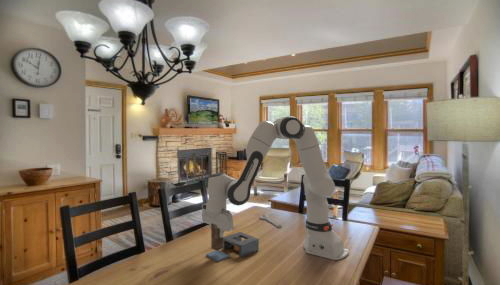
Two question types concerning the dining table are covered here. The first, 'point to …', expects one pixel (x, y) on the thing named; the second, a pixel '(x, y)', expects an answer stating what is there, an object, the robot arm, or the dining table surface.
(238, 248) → the button
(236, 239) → the guard
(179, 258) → the dining table surface
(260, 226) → the dining table surface
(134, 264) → the dining table surface
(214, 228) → the brown block
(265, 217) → the adjustable wrench
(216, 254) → the pad
